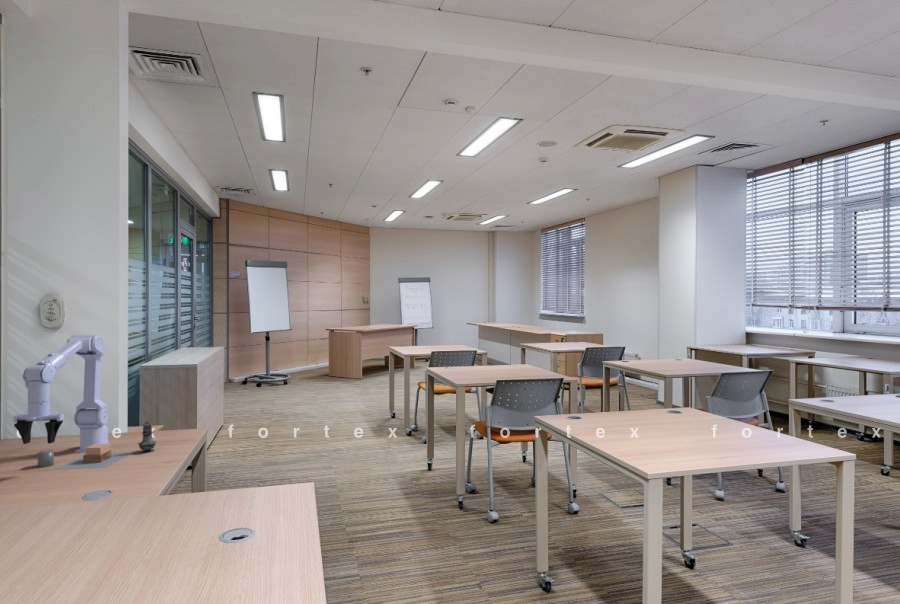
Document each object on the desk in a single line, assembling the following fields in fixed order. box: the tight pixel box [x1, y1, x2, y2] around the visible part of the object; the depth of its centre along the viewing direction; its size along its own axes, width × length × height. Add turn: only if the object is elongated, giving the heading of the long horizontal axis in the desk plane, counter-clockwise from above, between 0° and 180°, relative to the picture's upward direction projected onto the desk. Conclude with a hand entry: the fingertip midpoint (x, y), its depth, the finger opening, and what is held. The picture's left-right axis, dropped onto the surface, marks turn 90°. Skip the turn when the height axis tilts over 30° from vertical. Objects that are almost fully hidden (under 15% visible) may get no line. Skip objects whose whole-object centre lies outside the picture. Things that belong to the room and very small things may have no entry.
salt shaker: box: [137, 419, 157, 454], centre depth 194 cm, size 6×6×12 cm
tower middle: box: [85, 443, 110, 455], centre depth 183 cm, size 5×5×2 cm
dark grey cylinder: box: [37, 449, 55, 469], centre depth 177 cm, size 4×4×5 cm
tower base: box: [82, 449, 112, 463], centre depth 183 cm, size 6×6×2 cm
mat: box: [55, 451, 135, 470], centre depth 183 cm, size 18×16×1 cm
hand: (39, 442), depth 170 cm, fingers open, 7 cm apart
